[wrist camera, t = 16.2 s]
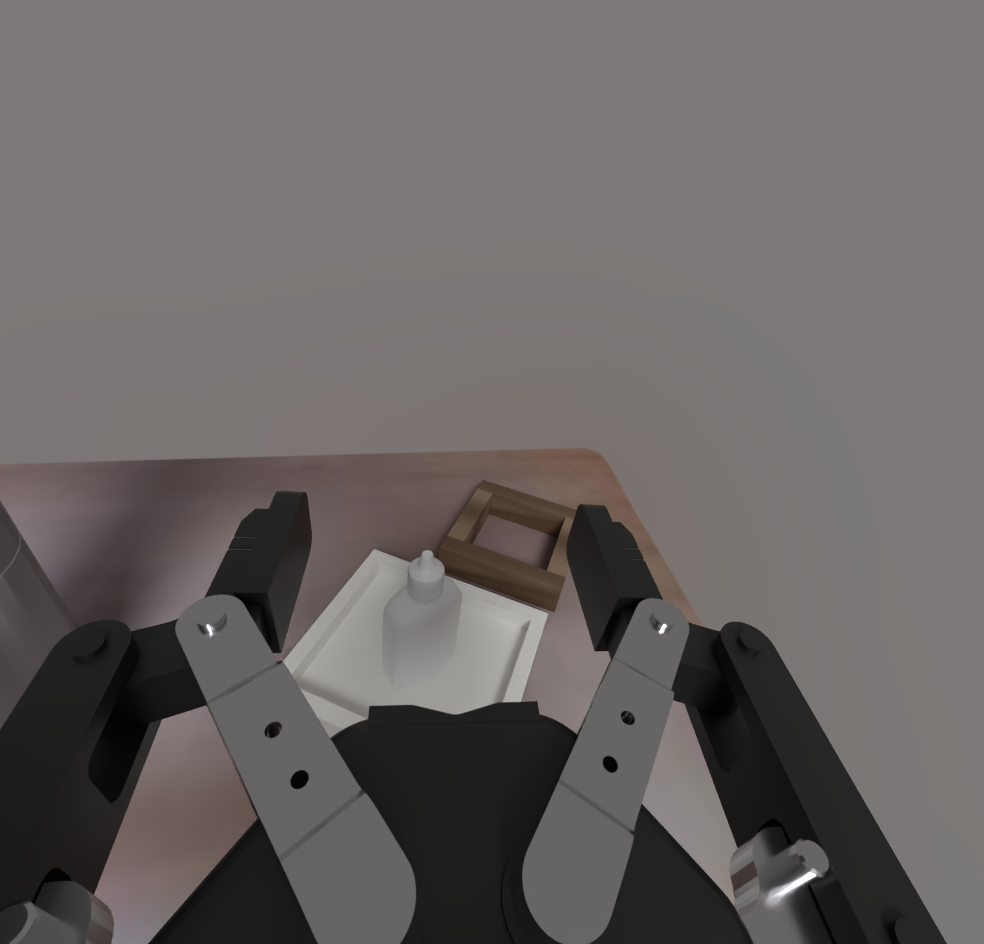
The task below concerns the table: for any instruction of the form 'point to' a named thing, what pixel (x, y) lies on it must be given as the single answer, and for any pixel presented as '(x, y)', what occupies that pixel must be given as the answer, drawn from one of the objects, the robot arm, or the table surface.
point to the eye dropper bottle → (421, 623)
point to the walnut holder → (502, 569)
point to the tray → (359, 651)
